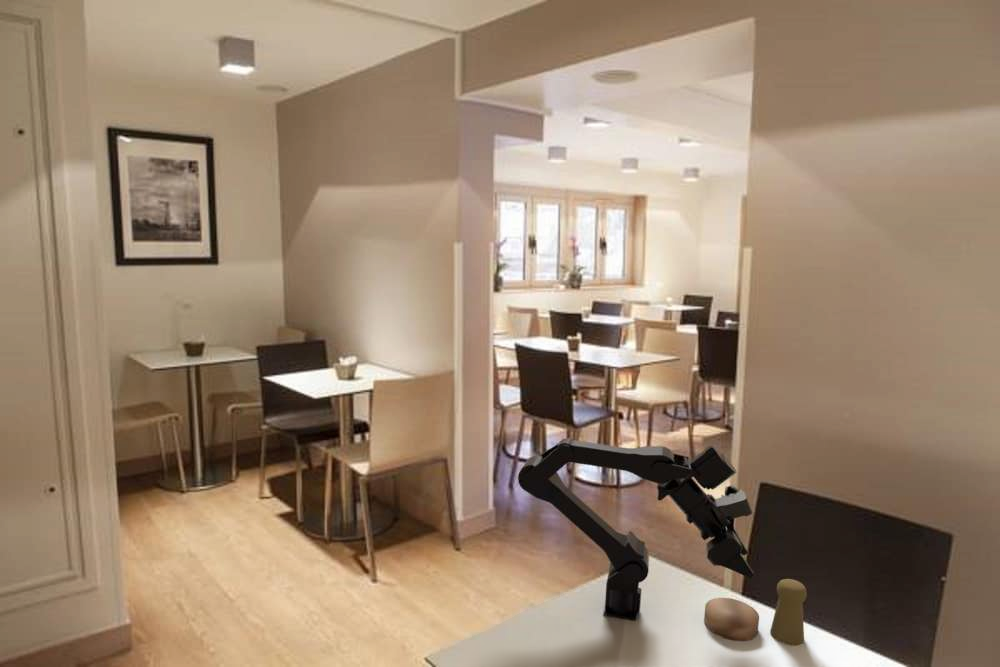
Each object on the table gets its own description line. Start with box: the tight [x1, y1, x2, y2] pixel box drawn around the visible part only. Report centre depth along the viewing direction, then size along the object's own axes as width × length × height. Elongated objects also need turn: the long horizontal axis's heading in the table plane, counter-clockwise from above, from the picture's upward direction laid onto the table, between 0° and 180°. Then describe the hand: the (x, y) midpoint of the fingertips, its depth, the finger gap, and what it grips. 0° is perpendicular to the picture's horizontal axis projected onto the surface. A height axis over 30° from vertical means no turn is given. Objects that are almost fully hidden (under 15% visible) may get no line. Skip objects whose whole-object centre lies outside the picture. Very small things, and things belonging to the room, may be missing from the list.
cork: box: [769, 578, 808, 647], centre depth 125 cm, size 6×6×11 cm
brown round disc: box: [703, 597, 760, 642], centre depth 129 cm, size 10×10×3 cm
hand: (748, 564), depth 126 cm, fingers open, 9 cm apart
